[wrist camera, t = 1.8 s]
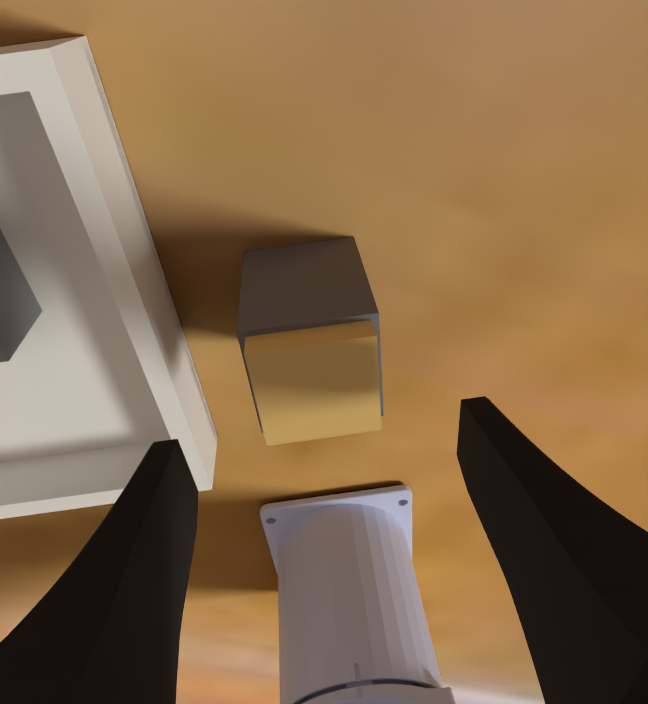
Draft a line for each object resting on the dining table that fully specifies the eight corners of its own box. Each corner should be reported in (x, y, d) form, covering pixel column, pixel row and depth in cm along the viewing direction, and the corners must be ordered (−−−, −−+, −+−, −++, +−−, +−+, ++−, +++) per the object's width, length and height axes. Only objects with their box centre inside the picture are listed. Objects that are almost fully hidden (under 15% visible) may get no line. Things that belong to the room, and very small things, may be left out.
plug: (360, 327, 21) (388, 433, 16) (262, 340, 21) (261, 451, 16) (353, 236, 18) (383, 328, 14) (243, 250, 18) (234, 349, 14)
